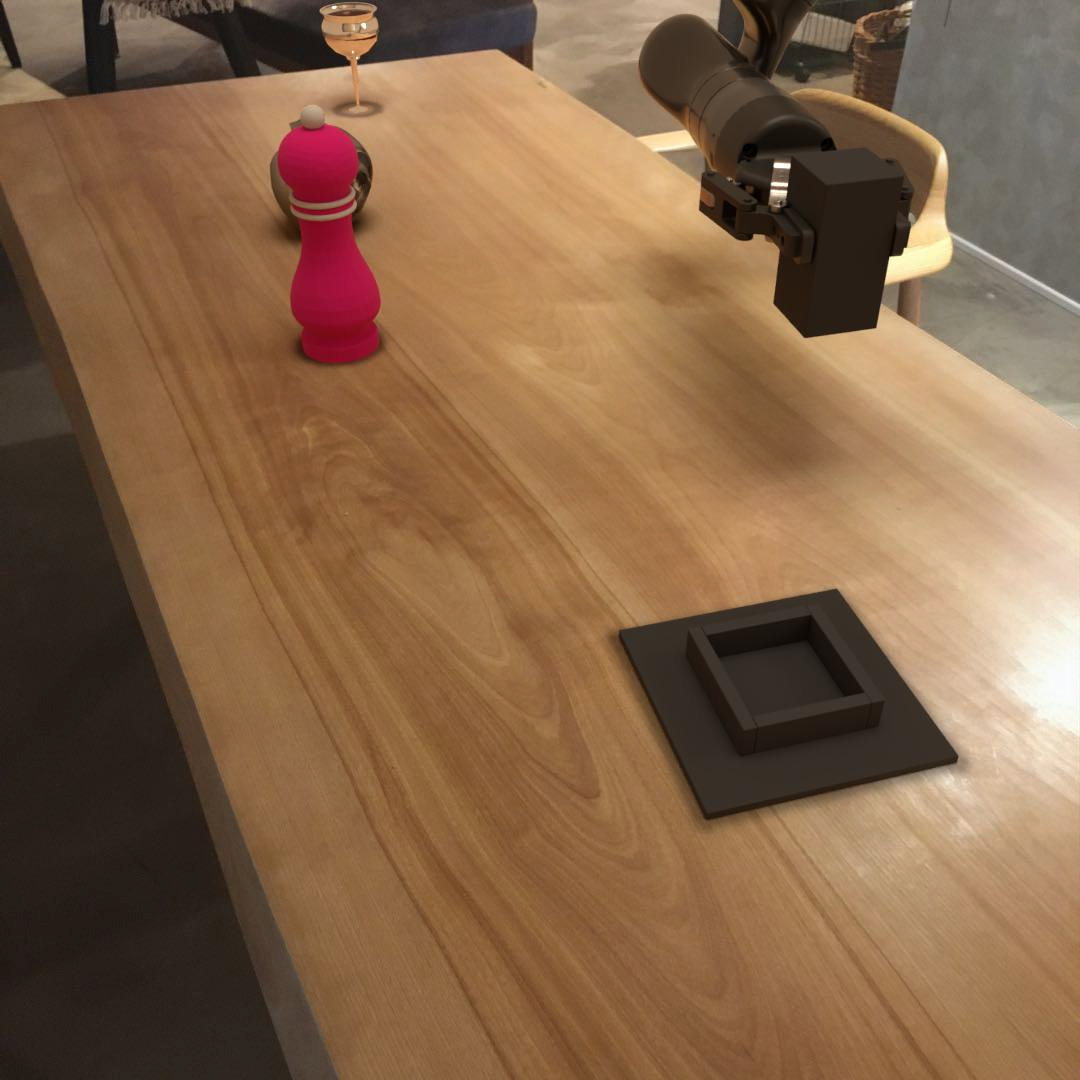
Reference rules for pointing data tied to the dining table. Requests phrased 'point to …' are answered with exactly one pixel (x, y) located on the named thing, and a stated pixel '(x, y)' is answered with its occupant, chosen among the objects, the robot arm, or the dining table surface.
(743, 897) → the dining table surface
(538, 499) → the dining table surface
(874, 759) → the base pad
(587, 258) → the dining table surface
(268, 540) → the dining table surface
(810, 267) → the pad block
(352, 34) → the wineglass
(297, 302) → the pepper mill
